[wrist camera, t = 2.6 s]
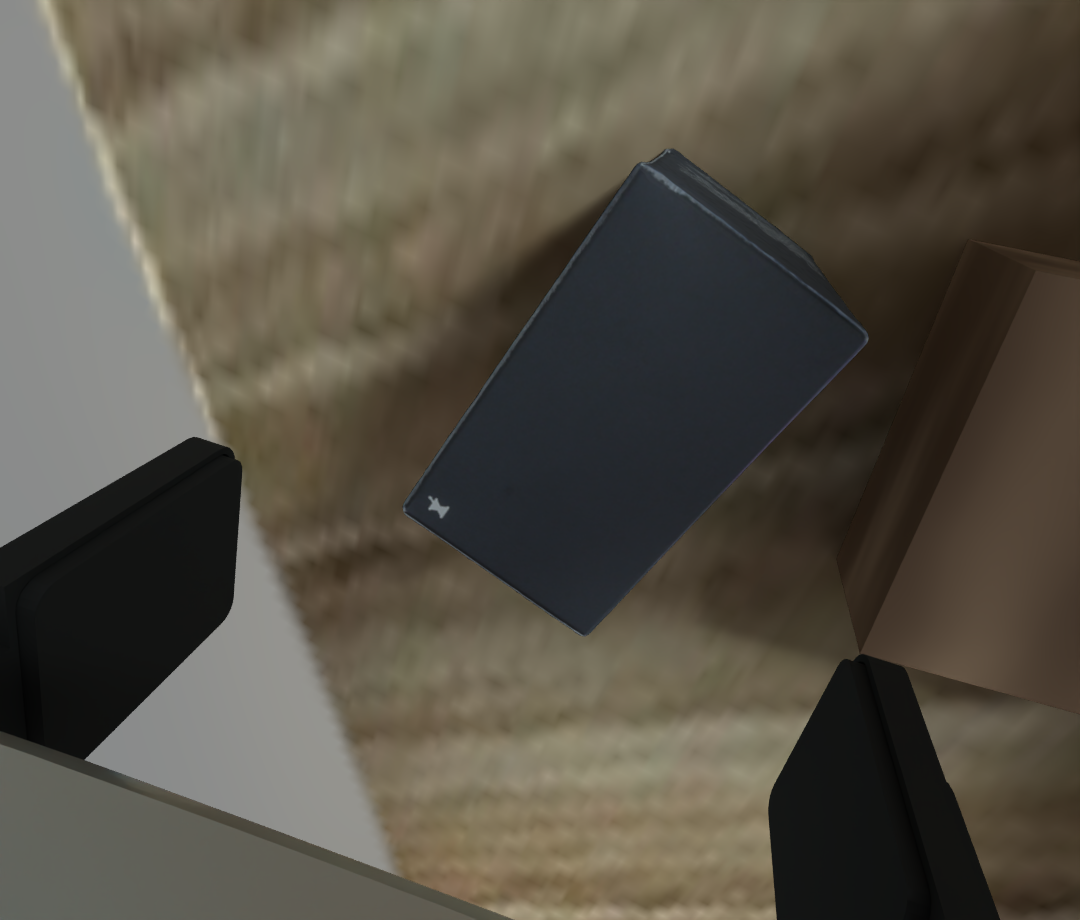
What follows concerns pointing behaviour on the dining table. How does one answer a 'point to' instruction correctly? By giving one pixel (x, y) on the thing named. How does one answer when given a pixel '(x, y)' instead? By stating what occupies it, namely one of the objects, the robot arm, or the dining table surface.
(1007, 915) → the dining table surface
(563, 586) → the small box
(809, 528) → the dining table surface
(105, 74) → the dining table surface
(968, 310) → the walnut block
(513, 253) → the dining table surface
